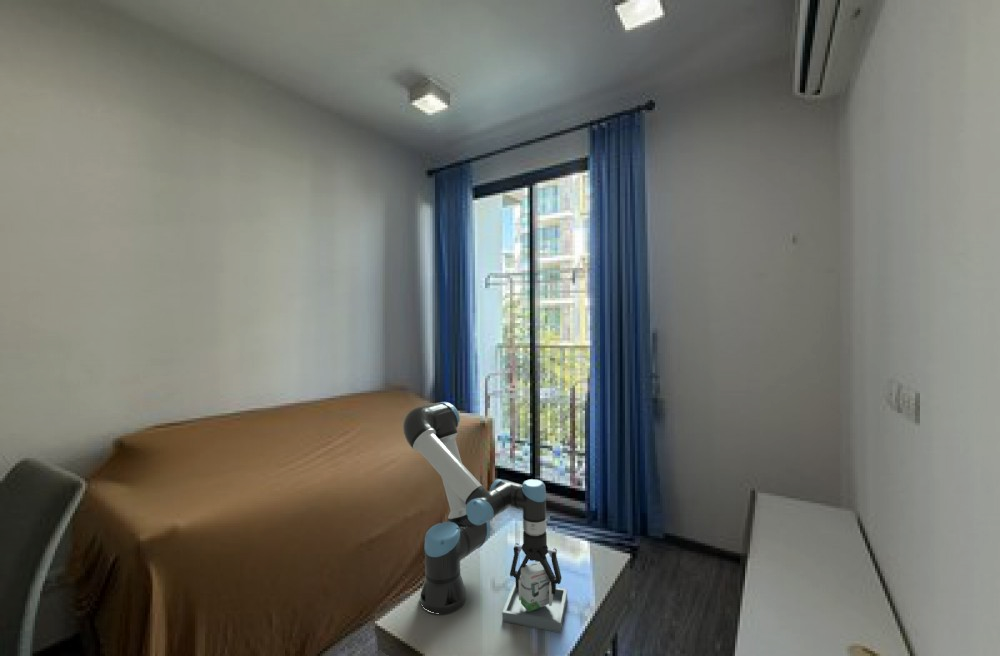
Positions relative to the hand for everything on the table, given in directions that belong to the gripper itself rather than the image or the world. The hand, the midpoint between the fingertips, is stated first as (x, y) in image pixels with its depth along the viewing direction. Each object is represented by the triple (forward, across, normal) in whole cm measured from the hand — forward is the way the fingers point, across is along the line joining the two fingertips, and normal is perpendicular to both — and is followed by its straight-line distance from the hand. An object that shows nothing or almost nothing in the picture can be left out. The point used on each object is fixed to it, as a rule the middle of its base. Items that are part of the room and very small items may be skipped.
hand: (535, 600), depth 131 cm
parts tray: (+3, 0, 0) cm, 3 cm away
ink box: (+1, 0, 0) cm, 1 cm away
